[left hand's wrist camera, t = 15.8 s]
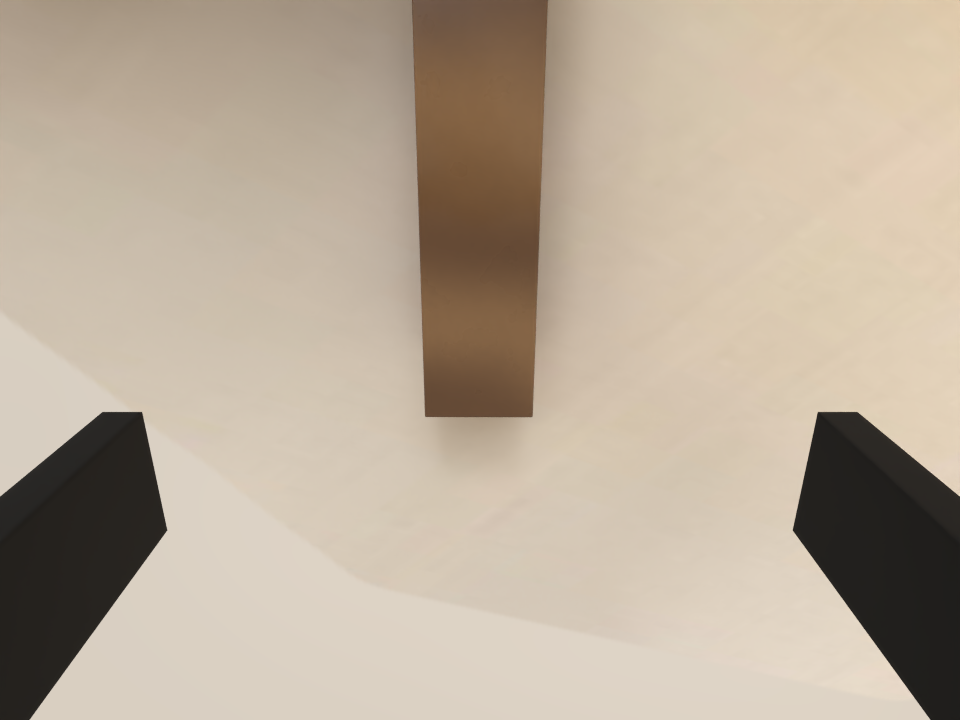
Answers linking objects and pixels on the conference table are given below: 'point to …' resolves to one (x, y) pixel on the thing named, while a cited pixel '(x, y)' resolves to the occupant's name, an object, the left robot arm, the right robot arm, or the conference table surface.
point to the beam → (479, 200)
